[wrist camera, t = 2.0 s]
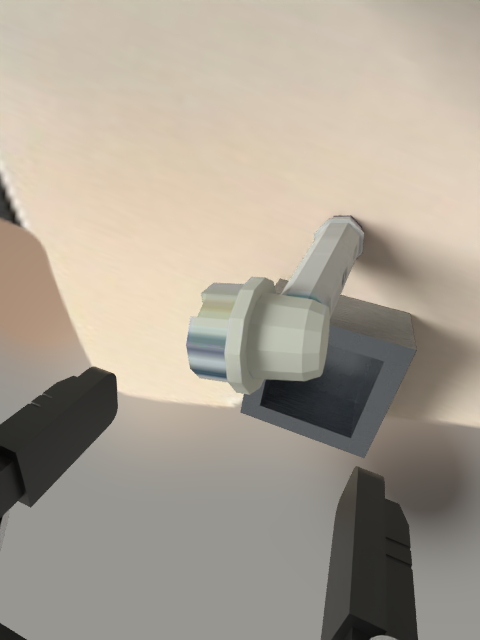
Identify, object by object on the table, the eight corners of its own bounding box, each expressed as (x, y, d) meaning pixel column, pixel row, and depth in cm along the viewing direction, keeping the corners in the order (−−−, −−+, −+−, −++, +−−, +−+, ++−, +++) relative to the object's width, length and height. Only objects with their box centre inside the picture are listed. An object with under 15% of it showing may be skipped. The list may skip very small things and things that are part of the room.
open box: (280, 278, 39) (261, 304, 33) (409, 313, 36) (416, 350, 29) (259, 375, 46) (240, 412, 39) (366, 411, 43) (364, 458, 36)
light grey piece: (362, 260, 35) (338, 436, 14) (297, 258, 37) (191, 408, 16) (366, 206, 33) (345, 320, 12) (296, 208, 35) (174, 307, 14)
